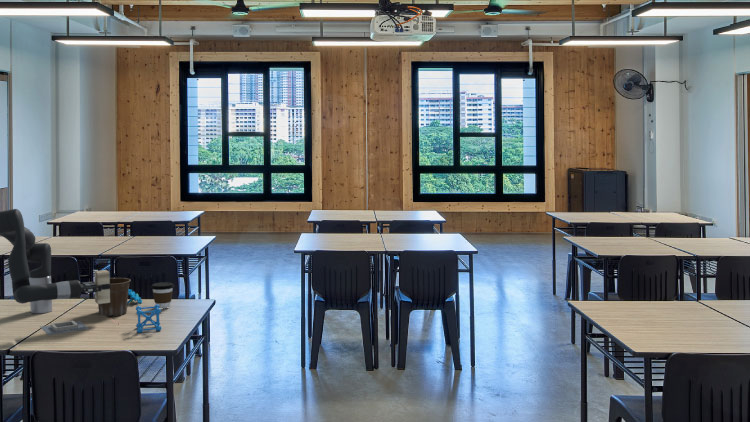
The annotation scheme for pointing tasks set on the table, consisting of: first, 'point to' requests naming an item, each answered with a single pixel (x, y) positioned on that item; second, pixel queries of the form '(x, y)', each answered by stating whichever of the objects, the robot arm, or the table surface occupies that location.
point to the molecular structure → (148, 318)
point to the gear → (134, 297)
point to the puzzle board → (64, 327)
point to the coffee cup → (162, 293)
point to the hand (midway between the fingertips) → (108, 285)
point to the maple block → (102, 278)
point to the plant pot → (116, 298)
